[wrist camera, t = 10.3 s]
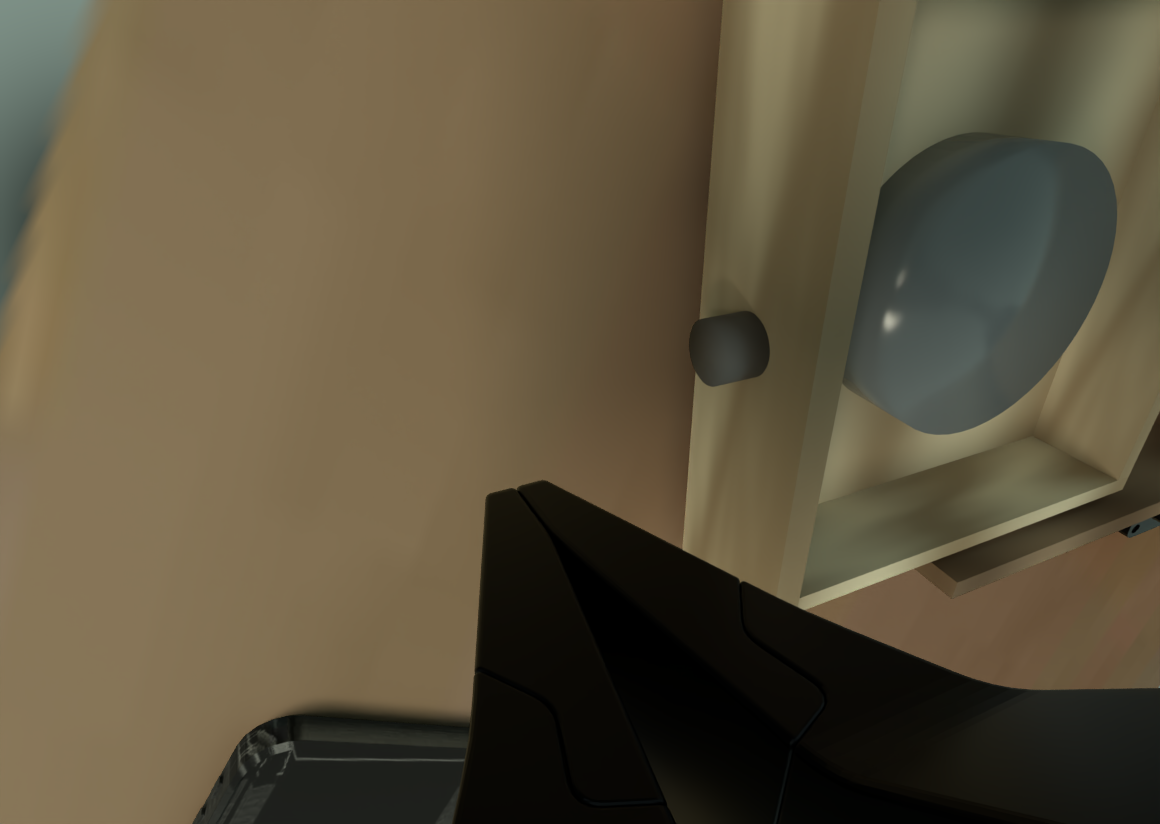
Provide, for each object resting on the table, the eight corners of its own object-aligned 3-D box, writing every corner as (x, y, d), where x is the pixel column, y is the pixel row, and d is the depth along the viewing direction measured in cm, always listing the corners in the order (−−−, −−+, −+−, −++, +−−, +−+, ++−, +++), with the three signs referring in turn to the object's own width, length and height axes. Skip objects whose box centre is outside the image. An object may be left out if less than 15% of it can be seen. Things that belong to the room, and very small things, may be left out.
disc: (855, 139, 14) (931, 151, 13) (1074, 125, 17) (1161, 135, 15) (801, 421, 18) (855, 460, 16) (989, 377, 20) (1053, 406, 18)
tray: (1212, -75, 16) (1443, -101, 13) (1019, 452, 24) (1134, 515, 21) (679, -100, 11) (842, -152, 8) (650, 572, 19) (729, 679, 16)
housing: (1337, -83, 19) (1597, -111, 15) (1117, 416, 26) (1253, 475, 23) (968, -105, 14) (1218, -154, 10) (837, 506, 22) (951, 599, 18)
